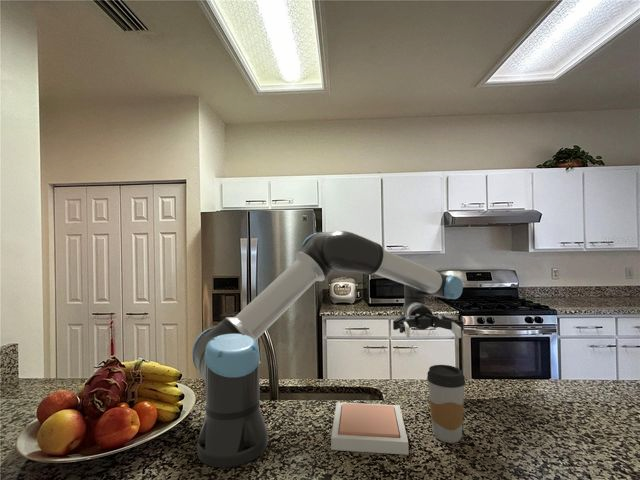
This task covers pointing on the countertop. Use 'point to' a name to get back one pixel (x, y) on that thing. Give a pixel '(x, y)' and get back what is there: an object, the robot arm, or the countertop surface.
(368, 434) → the button
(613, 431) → the countertop surface
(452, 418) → the coffee cup
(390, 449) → the button housing
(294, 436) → the countertop surface
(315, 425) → the countertop surface
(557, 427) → the countertop surface
